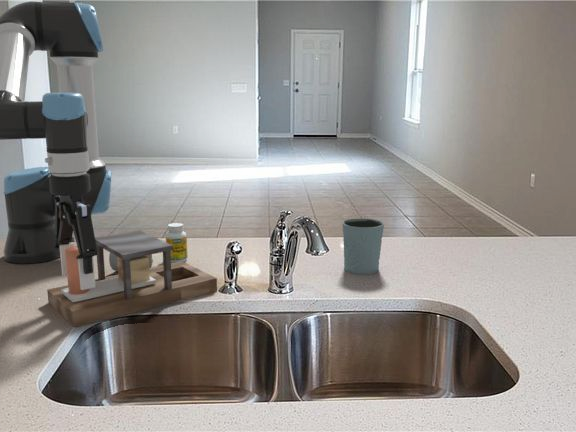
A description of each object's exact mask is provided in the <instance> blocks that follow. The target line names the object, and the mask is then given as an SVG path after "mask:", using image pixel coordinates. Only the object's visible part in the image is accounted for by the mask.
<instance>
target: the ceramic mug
mask: <svg viewBox="0 0 576 432" xmlns="http://www.w3.org/2000/svg"><path fill="white" fill-rule="evenodd" d="M145 256H147V257H149V268H151V266H152V265H153V262H154V259H153V254H151V255H145ZM108 261H109V266H110V268H111V270H112V271H113V272H114V271H115V272H118V264H117V256H116V255H114V254H112V253H110V252H109V256H108Z"/></svg>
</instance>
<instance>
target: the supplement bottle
mask: <svg viewBox="0 0 576 432" xmlns="http://www.w3.org/2000/svg"><path fill="white" fill-rule="evenodd" d="M184 228H185V227H184V223H180V222H174V223H173V222H172V223H169V224H168V225H167V230H168V232H167V233H166V234H165V242H166V243H168V244H171V245H173V250H171V251H170V256H171V263H175V262H180V261H183V262H186V261H187V260H188V240H187V239H188V238H187V233H186V232H185V231H184V230H185V229H184Z"/></svg>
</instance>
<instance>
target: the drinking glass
mask: <svg viewBox="0 0 576 432" xmlns="http://www.w3.org/2000/svg"><path fill="white" fill-rule="evenodd" d="M384 226H385V224H384V222H383V221H381V220H377V219H374V218H373V219H372V218H359V217H357V218H348V219H345V220H343V221H342V235H343V237H342V239H343V241H342V242H343V243H342V244H343V258H344V259H343V260H344V261H343V266H344V267H343V268H344V270H345V271H346V272H347V273H350V274H355V275H370V274H372V275H373V274H375V273H377V272H378V271H379V267H380V258H381V249H382V238H383V233H384V228H385V227H384Z"/></svg>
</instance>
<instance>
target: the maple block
mask: <svg viewBox="0 0 576 432" xmlns="http://www.w3.org/2000/svg"><path fill="white" fill-rule="evenodd" d="M117 264H118V271H117V275H118V278H119V279H120V280H122V281H123V267H122V259H121V258H119V257H117ZM149 268H150V267H149V257H147V256H140V257H135V258H130V271H131V284H132V283H137V282H141V281H146V280H150V273H149Z"/></svg>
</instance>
